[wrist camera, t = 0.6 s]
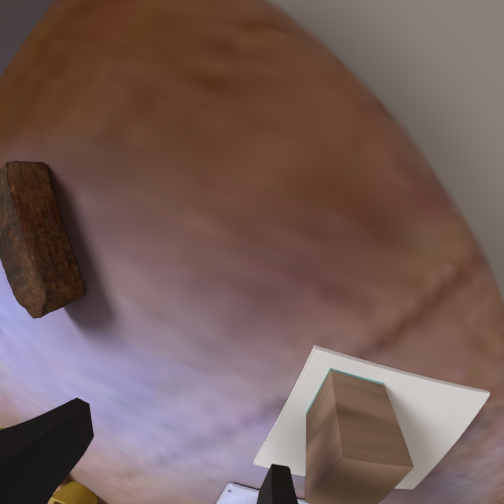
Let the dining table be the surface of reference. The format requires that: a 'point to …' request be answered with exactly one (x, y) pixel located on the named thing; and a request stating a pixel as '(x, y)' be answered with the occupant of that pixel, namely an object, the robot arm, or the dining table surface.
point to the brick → (35, 241)
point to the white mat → (403, 402)
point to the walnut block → (353, 442)
